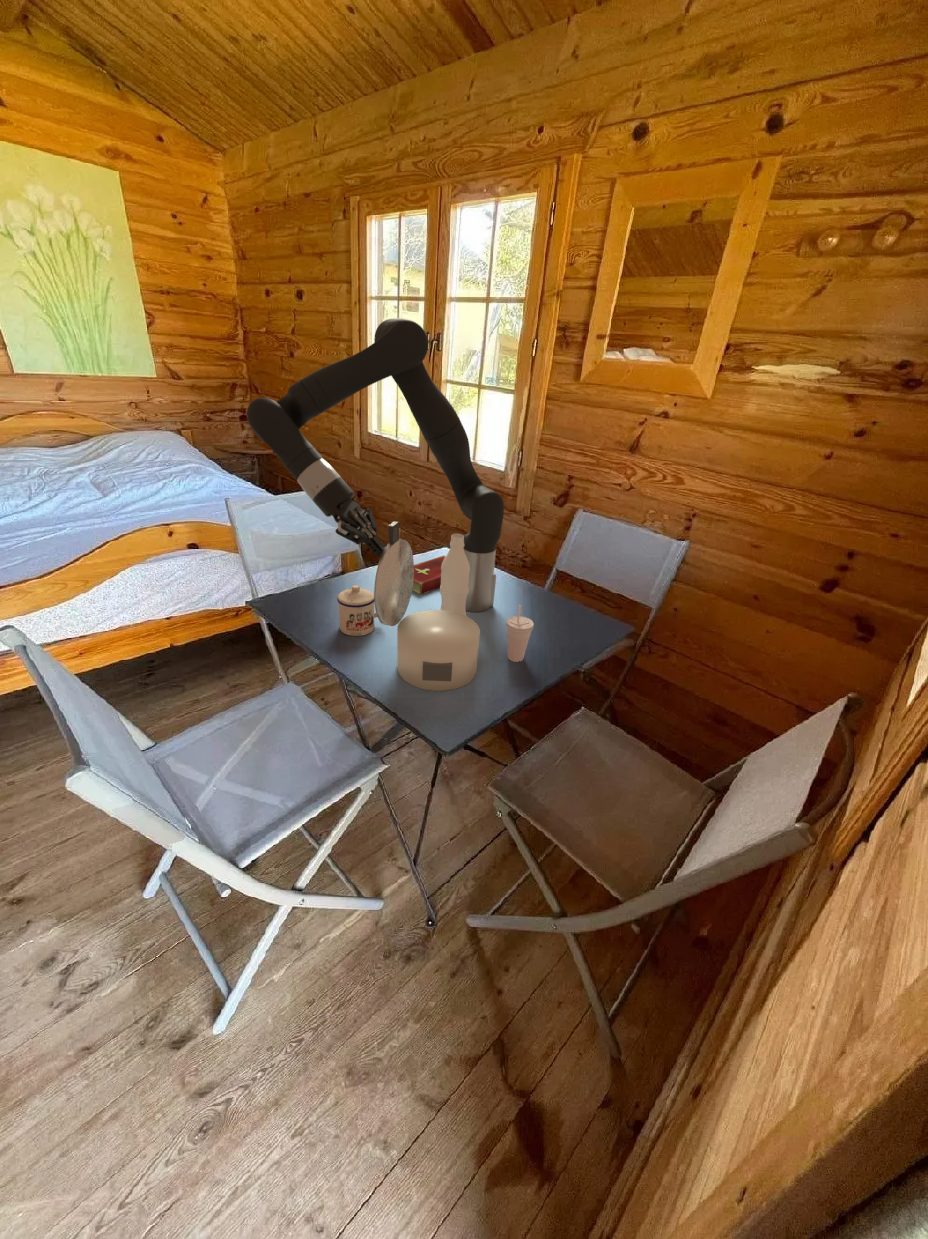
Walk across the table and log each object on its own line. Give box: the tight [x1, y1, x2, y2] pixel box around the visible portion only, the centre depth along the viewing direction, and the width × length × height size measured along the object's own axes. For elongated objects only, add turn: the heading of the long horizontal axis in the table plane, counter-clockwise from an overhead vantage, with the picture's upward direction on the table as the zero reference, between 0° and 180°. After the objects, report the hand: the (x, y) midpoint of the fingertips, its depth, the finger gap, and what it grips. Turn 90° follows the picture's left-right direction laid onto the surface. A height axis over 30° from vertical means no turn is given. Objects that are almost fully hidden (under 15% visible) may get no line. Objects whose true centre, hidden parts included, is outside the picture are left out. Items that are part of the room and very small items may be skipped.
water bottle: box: [439, 533, 470, 617], centre depth 128 cm, size 7×7×25 cm
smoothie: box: [505, 604, 535, 663], centre depth 120 cm, size 6×6×14 cm
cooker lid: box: [373, 521, 415, 627], centre depth 109 cm, size 22×19×2 cm
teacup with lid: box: [336, 584, 378, 637], centre depth 128 cm, size 12×9×12 cm
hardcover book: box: [412, 555, 446, 596], centre depth 159 cm, size 12×21×4 cm, turn 137°
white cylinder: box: [396, 609, 481, 692], centre depth 115 cm, size 18×19×10 cm
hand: (382, 553), depth 108 cm, fingers closed
